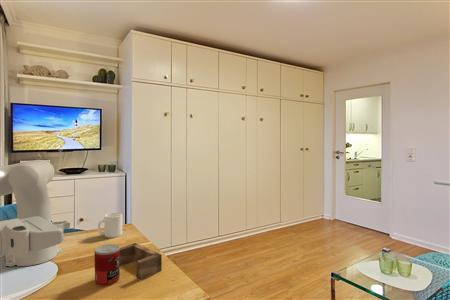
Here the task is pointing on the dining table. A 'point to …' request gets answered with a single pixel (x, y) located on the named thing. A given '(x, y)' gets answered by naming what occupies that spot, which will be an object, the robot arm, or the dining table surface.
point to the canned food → (107, 264)
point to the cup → (111, 225)
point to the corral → (141, 259)
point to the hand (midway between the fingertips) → (68, 224)
